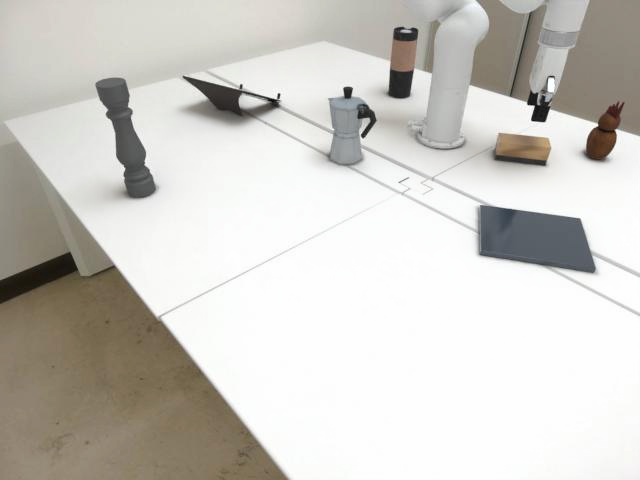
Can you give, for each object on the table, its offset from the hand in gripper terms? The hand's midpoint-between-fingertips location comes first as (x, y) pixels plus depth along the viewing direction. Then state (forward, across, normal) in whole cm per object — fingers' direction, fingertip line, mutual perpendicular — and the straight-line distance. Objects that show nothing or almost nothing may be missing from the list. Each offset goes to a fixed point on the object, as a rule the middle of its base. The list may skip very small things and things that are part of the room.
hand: (535, 113), depth 109 cm
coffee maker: (+12, +11, -43) cm, 46 cm away
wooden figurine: (+12, -6, +18) cm, 23 cm away
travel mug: (+12, -36, -36) cm, 52 cm away
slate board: (+12, +34, -1) cm, 36 cm away
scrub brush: (+12, 0, -1) cm, 12 cm away
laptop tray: (+12, -13, -83) cm, 85 cm away
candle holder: (+12, +38, -86) cm, 95 cm away
